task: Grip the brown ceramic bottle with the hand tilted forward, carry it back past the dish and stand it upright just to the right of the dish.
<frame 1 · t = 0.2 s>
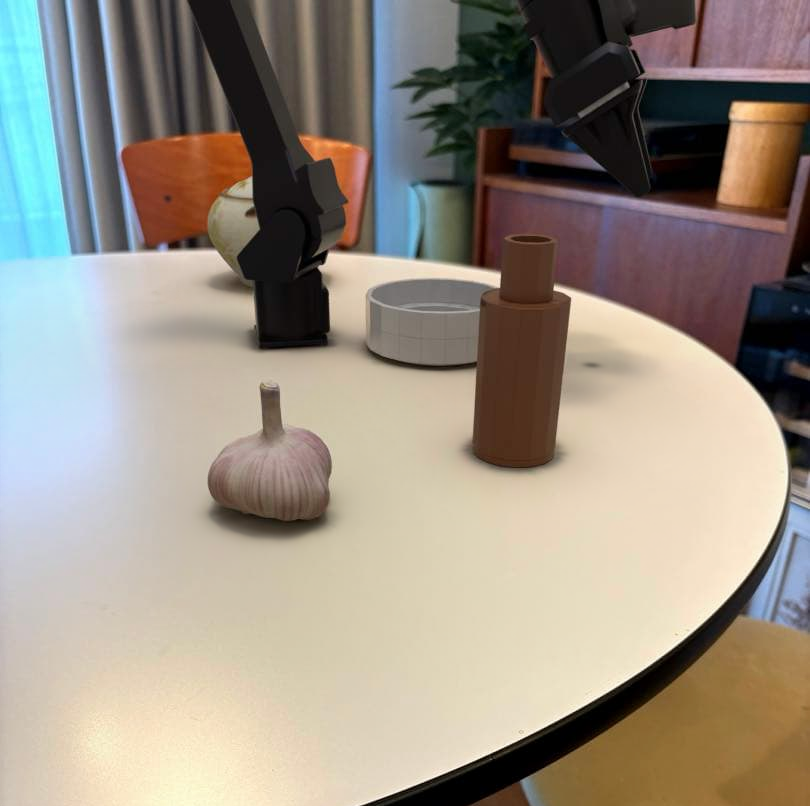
hand: (645, 186, 65), 15 cm above the table, tool tilted 35°, fingers open, 9 cm apart
garlic bulb: (274, 510, 50), on the table
bottle: (513, 450, 57), on the table
dish: (436, 348, 78), on the table
sugar bowl: (276, 283, 100), on the table
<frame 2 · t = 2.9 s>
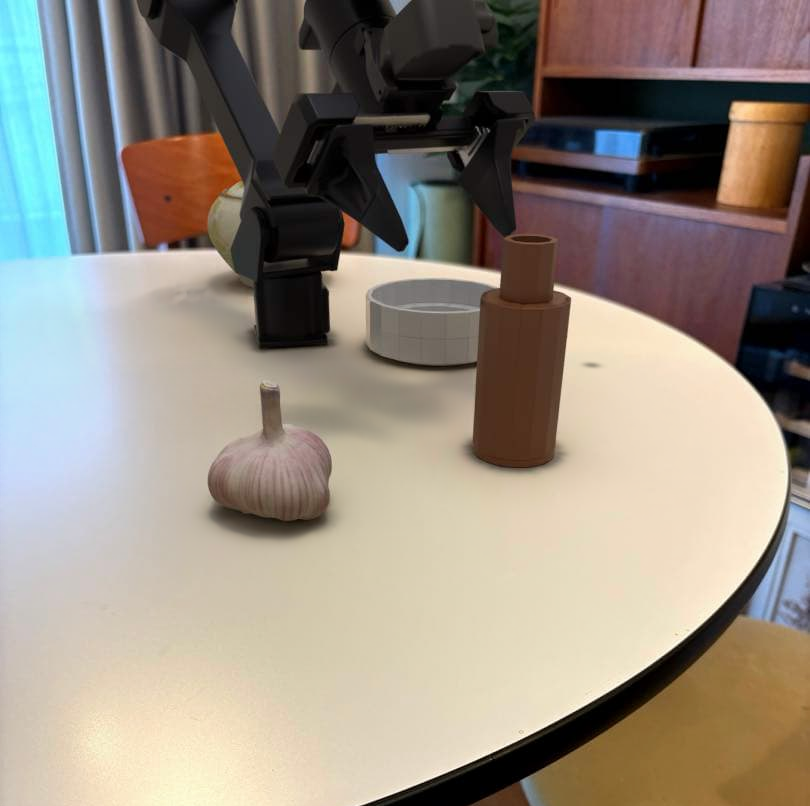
hand: (459, 240, 56), 13 cm above the table, tool tilted 45°, fingers open, 9 cm apart
nothing on the table moved.
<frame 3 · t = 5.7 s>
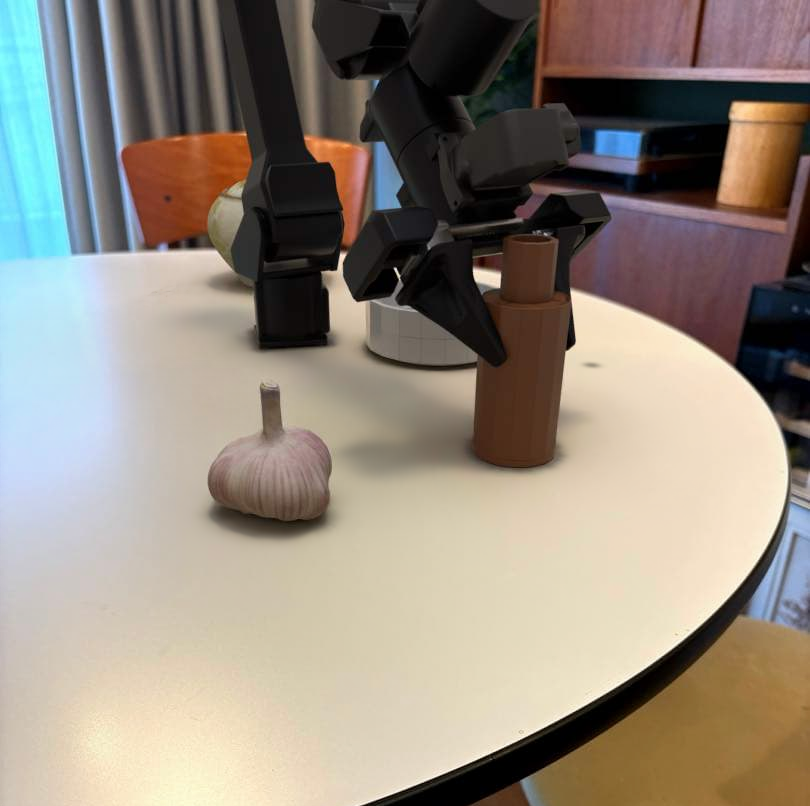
hand: (536, 355, 53), 7 cm above the table, tool tilted 45°, fingers closed on bottle, 6 cm apart
bottle: (513, 450, 57), on the table, touching gripper
everything else where it was.
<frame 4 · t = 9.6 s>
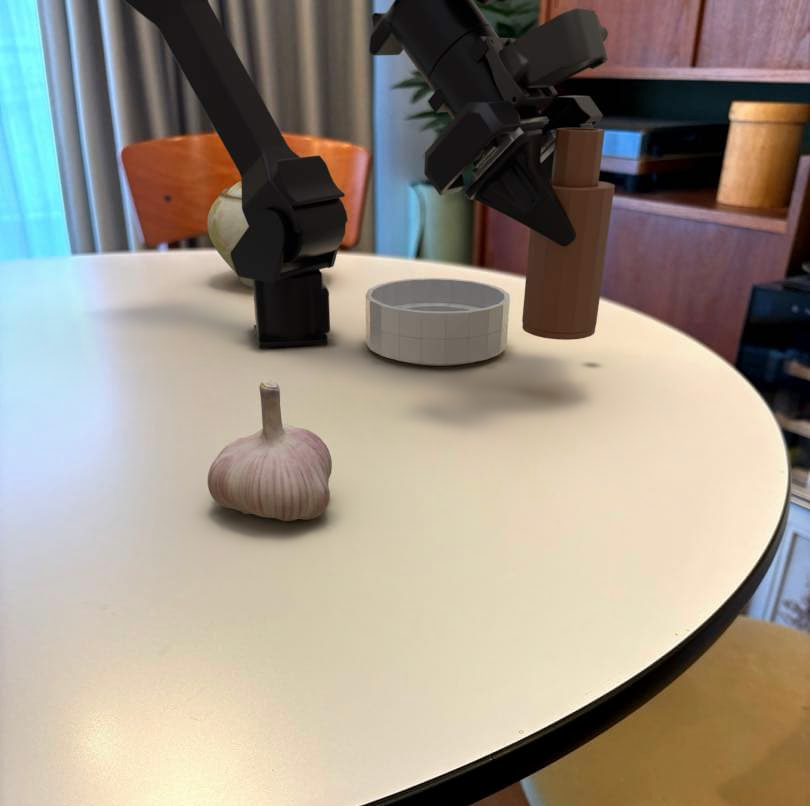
hand: (586, 236, 60), 12 cm above the table, tool tilted 45°, fingers closed on bottle, 6 cm apart
bottle: (558, 329, 64), point 5 cm above the table, touching gripper
everything else where it was.
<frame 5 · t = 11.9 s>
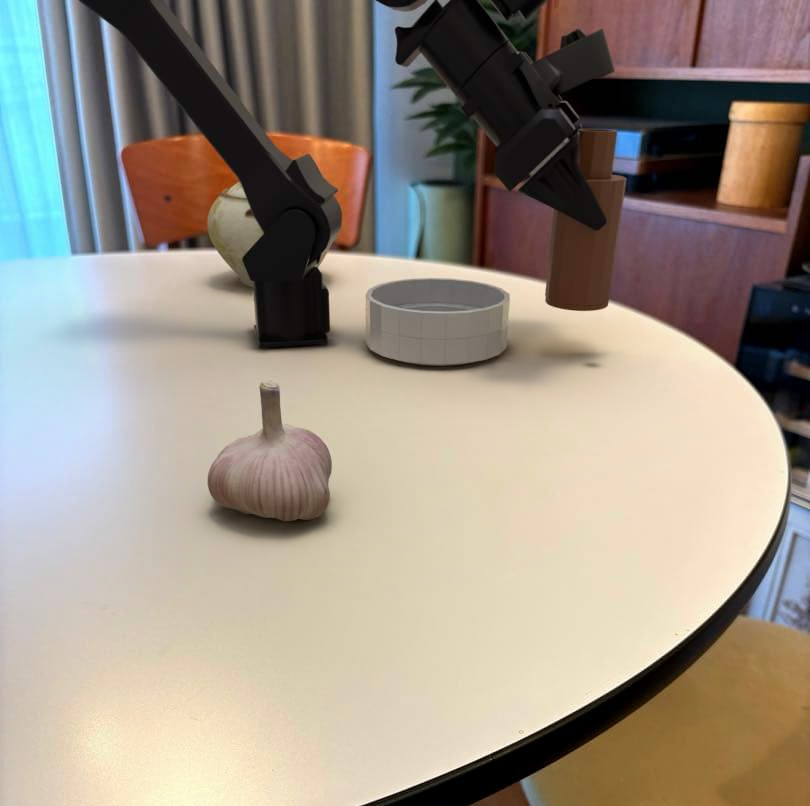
hand: (602, 220, 71), 12 cm above the table, tool tilted 45°, fingers closed on bottle, 6 cm apart
bottle: (576, 303, 74), point 5 cm above the table, touching gripper
everything else where it was.
when the fingers open (7 cm above the table, at t = 13.7 s): bottle stays where it is, on the table.
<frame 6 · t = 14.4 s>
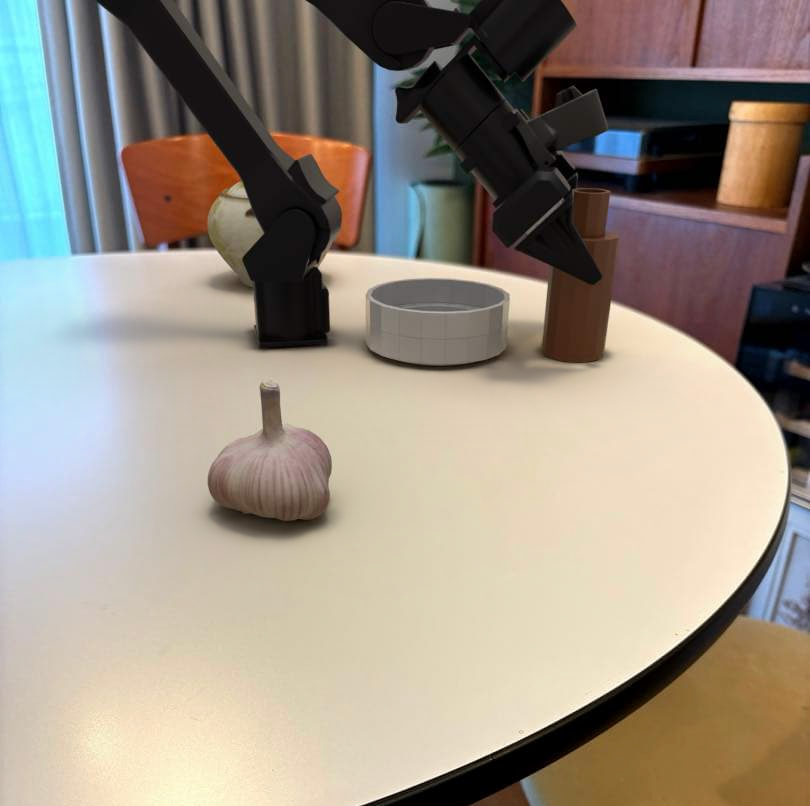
hand: (598, 269, 73), 8 cm above the table, tool tilted 45°, fingers open, 9 cm apart
bottle: (572, 352, 77), on the table
everything else where it was.
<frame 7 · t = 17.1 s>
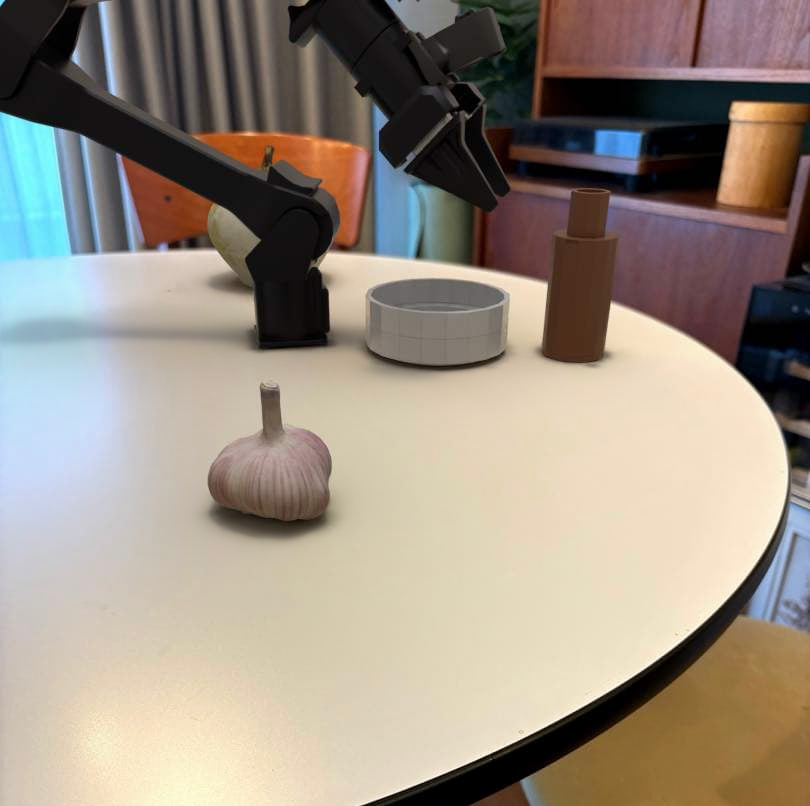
hand: (501, 200, 71), 13 cm above the table, tool tilted 45°, fingers open, 9 cm apart
nothing on the table moved.
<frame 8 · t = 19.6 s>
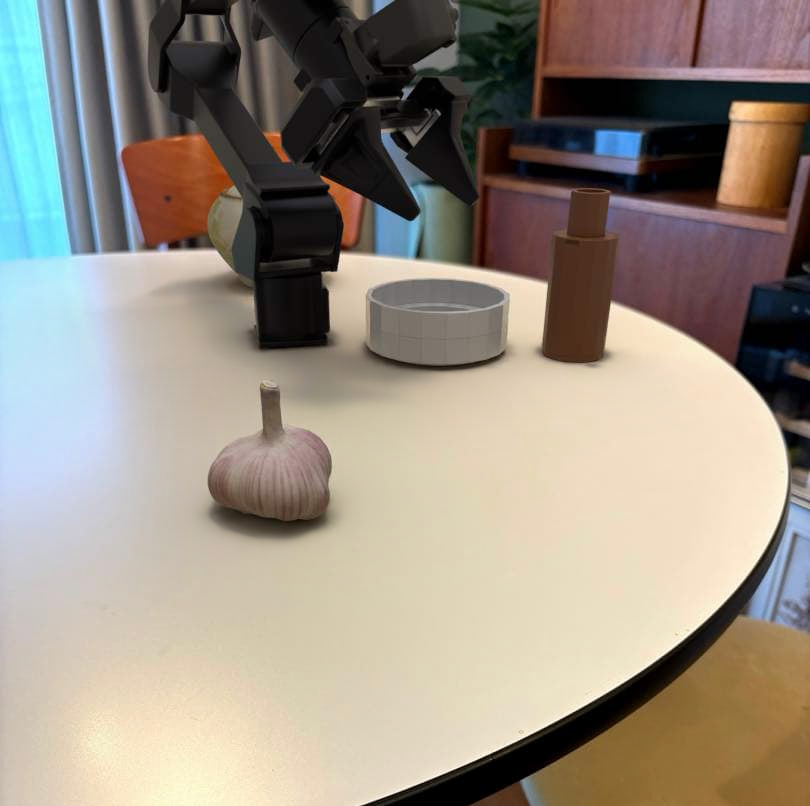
hand: (447, 209, 63), 14 cm above the table, tool tilted 45°, fingers open, 9 cm apart
nothing on the table moved.
at the end: bottle inside the target area on the table beside the dish (1.8 cm from its centre), on the table; bottle tilted 0°; the gripper is holding nothing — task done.
